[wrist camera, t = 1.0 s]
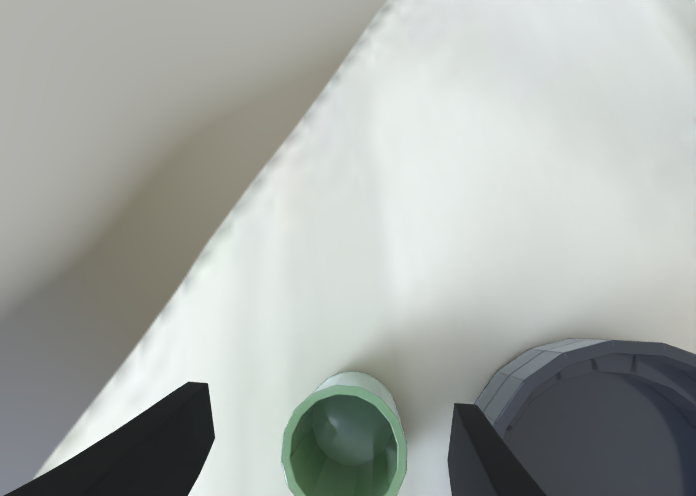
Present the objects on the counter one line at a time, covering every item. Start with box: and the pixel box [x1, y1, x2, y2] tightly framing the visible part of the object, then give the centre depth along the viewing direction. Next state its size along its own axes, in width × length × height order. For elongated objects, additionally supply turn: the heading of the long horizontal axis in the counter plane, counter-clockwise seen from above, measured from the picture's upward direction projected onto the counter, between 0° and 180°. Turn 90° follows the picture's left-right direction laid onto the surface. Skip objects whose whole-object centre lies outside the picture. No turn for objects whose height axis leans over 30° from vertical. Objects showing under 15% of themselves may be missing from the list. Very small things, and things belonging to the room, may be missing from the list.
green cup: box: [281, 371, 407, 496], centre depth 18 cm, size 5×5×6 cm
